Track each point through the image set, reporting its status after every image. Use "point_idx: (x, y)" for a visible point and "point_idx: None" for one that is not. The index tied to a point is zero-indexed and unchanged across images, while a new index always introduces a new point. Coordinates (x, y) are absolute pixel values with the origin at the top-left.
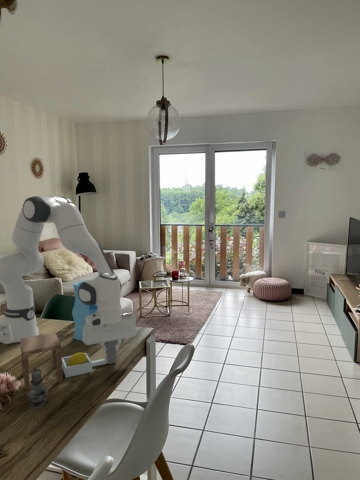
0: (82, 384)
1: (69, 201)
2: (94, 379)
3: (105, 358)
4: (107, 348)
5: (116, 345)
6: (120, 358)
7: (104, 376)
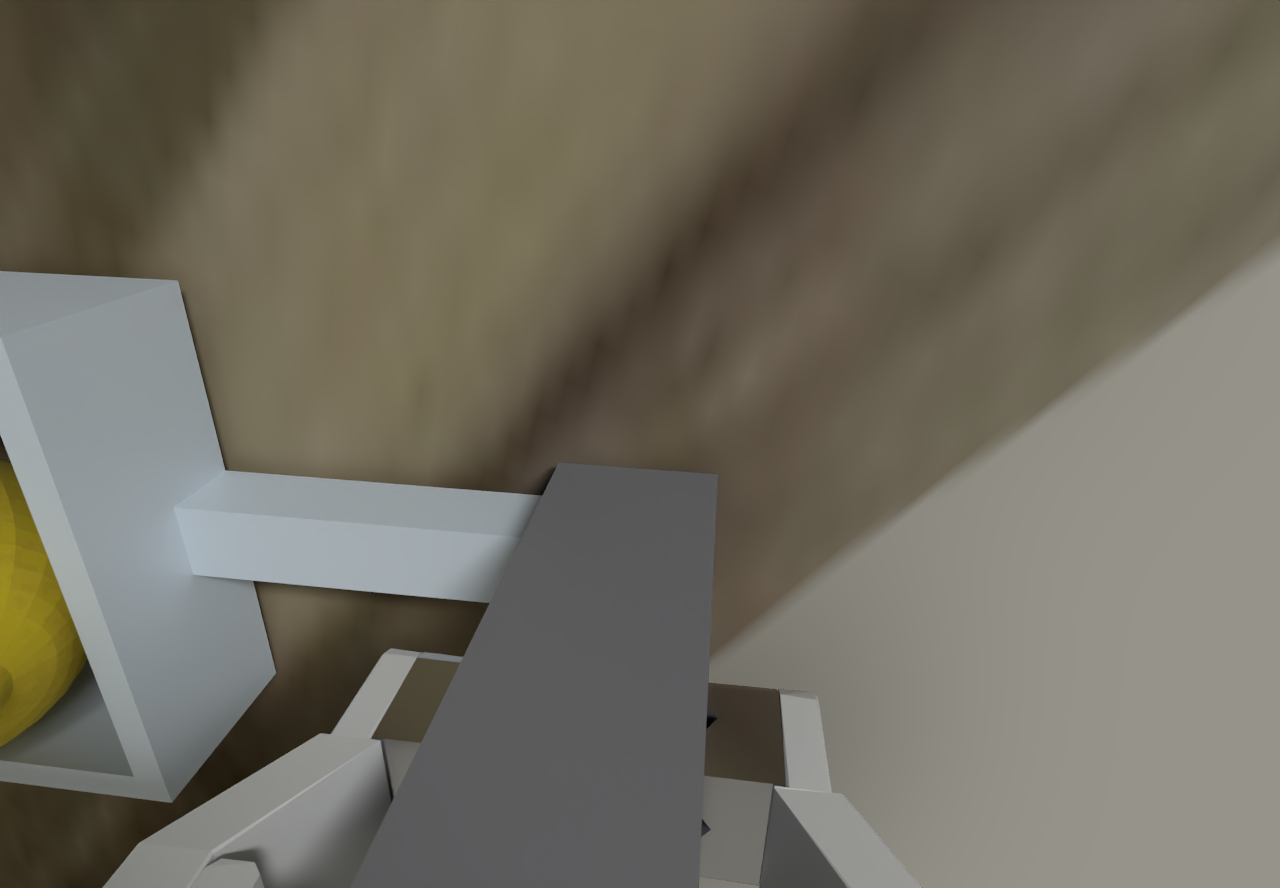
0: None
1: None
2: None
3: (511, 540)
4: None
5: (759, 834)
6: (867, 459)
7: None
